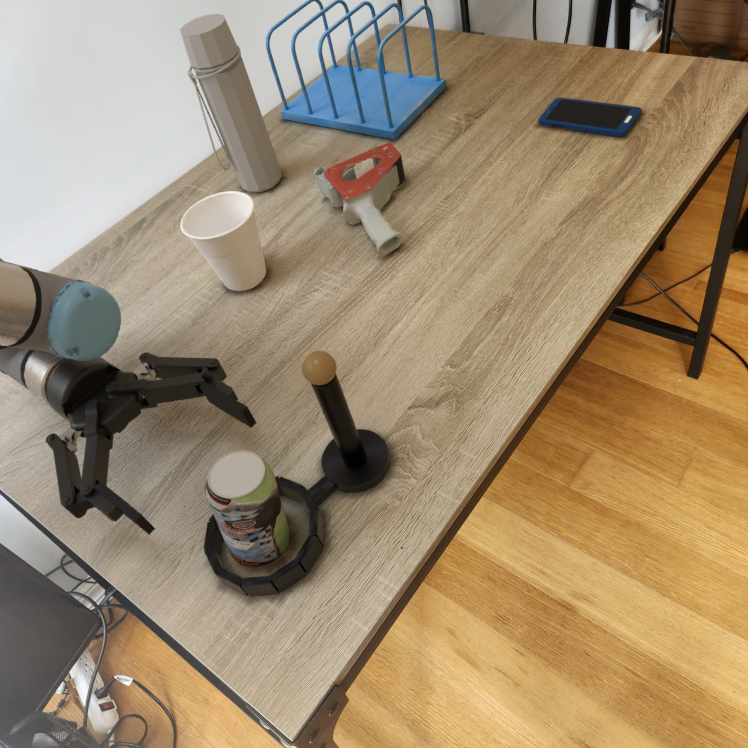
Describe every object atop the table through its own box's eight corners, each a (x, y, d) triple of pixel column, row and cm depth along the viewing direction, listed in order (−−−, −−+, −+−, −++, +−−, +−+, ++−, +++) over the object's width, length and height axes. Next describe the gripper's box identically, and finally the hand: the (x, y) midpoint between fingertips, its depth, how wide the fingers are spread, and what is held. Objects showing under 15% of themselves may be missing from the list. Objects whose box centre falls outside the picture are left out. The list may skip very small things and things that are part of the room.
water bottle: (271, 163, 110) (216, 7, 91) (292, 181, 105) (238, 20, 86) (223, 187, 108) (157, 33, 89) (242, 207, 103) (176, 48, 84)
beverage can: (222, 543, 64) (171, 481, 55) (281, 496, 67) (241, 429, 58) (255, 587, 61) (206, 528, 52) (316, 535, 63) (279, 471, 54)
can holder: (192, 568, 63) (105, 479, 51) (299, 412, 73) (249, 305, 61) (301, 624, 58) (234, 539, 45) (401, 446, 68) (369, 337, 55)
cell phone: (624, 137, 95) (625, 133, 94) (536, 124, 102) (536, 120, 101) (643, 112, 98) (643, 107, 98) (556, 100, 105) (556, 96, 104)
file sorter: (282, 120, 119) (254, 34, 107) (336, 74, 127) (316, -10, 115) (395, 141, 107) (377, 46, 95) (447, 88, 115) (437, -5, 103)
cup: (256, 245, 96) (229, 181, 87) (293, 273, 90) (268, 208, 81) (200, 281, 93) (167, 219, 84) (234, 313, 87) (202, 249, 78)
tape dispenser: (395, 270, 88) (445, 177, 98) (389, 241, 84) (442, 146, 94) (285, 249, 95) (342, 163, 104) (274, 221, 90) (335, 134, 100)
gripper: (174, 333, 80) (297, 400, 69) (3, 485, 69) (117, 593, 58) (146, 288, 74) (276, 353, 63) (-44, 446, 64) (72, 557, 53)
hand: (200, 468), depth 61 cm, fingers open, 13 cm apart
